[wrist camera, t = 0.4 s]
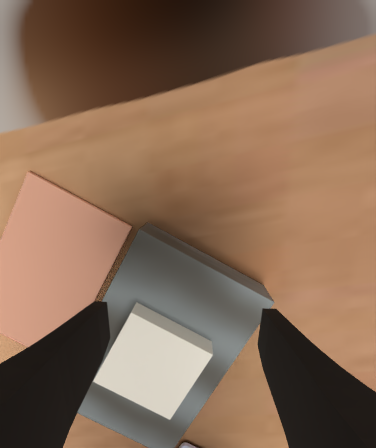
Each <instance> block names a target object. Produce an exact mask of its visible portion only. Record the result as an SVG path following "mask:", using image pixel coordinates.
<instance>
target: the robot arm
mask: <svg viewBox="0 0 376 448" xmlns="http://www.w3.org/2000/svg"><path fill="white" fill-rule="evenodd" d="M109 341H110V327H109V317H108V306H107V302H97V301H94V302H93V303H91V304H90V305H88V306H87V307H85V308H84V309H83V310H81V311H80V312H79V313H77V314H76V315H75V316H73V317H72V318H70V319H69V320H68V321H66V322H65V323H63V324H62V325H61V326H59V327H58V328H56V329H55V330H54V331H52V332H51V333H49V334H48V335H46V336H45V337H43V338H42V339H40V340H39V341H37V342H36V343H34V344H33V345H31V346H29V347H28V348H26V349H25V350H23V351H21V352H20V353H18V354H16V355H15V356H13V357H11V358H9V359H8V360H6V361H4V362H2V363H1V364H0V448H63V445H64V443H65V440H66V438H67V435H68V433H69V430H70V428H71V425H72V423H73V421H74V419H75V416H76V414H77V412H78V410H79V408H80V406H81V404H82V402H83V400H84V398H85V396H86V394H87V392H88V390H89V388H90V386H91V384H92V381H93V379H94V377H95V375H96V373H97V371H98V369H99V367H100V365H101V363H102V361H103V358H104V355H105V352H106V350H107V347H108V344H109ZM258 349H259V353H260V358H261V362H262V367H263V370H264V373H265V376H266V379H267V382H268V385H269V388H270V391H271V394H272V397H273V399H274V402H275V405H276V408H277V411H278V414H279V417H280V420H281V423H282V426H283V429H284V432H285V435H286V438H287V442H288V446H289V448H376V392H375V391H373V390H372V389H370V388H369V387H367V386H366V385H365V384H363V383H362V382H360V381H359V380H358V379H356V378H355V377H354V376H352V375H351V374H350V373H348V372H347V371H346V370H344V369H343V368H342V367H340V366H339V365H338V364H337V363H335V362H334V361H333V360H332V359H331V358H329V357H328V356H327V355H326V354H325V353H323V352H322V351H321V350H320V349H319V348H318V347H316V346H315V345H314V344H313V343H312V342H311V341H310V340H309V339H307V338H306V337H305V336H304V335H303V334H302V333H301V332H300V331H299V330H298V329H297V328H296V327H295V326H294V325H292V324H291V323H290V322H289V321H288V320H287V319H286V318H285V317H284V316H283V315H282V314H281V313H280V312H279V311H278V310H277V309H265V308H262V316H261V323H260V331H259V338H258ZM179 448H197V447H195V446H193V445H191V444H189V443H186V442H184V443H182V444H181V445H180V447H179Z"/></svg>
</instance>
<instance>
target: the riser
mask: <svg viewBox="0 0 376 448" xmlns="http://www.w3.org/2000/svg"><path fill="white" fill-rule="evenodd" d="M102 302H107V306H108V317H109V327H110V341H109V344H108V347H107V350H106V352H105V355H104V358H103V361H102V363H101V365H102V364H103V362H104V360H105V358H106V356H107V355H108V353H109V351H110V349H111V347H112V346H113V344H114V342H115V340H116V338H117V336H118V335H119V333H120V331H121V329H122V327H123V326H124V324H125V322H126V320H127V318H128V317H129V315H130V313H131V311H132V309H133V308H134V306H135V304H136V302H137V303H139V304H141V305H143V306H145V307H147V308H149V309H151V310H153V311H154V312H156V313H158V314H160V315H162V316H164V317H166V318H168V319H170V320H172V321H174V322H176V323H177V324H179V325H181V326H183V327H185V328H187V329H189V330H191V331H193V332H195V333H197V334H199V335H200V336H202V337H204V338H206V339H208V340H210V341H212V349H213V356H212V357H211V359H210V360H209V362H208V363H207V365H206V366H205V368H204V369H203V371H202V372H201V374H200V375H199V377H198V378H197V380H196V381H195V383H194V384H193V386H192V387H191V389H190V390H189V392H188V393H187V395H186V396H185V398H184V400H183V401H182V403H181V404H180V406H179V407H178V409H177V410H176V412H175V413H174V415H173V416H172V418H171V419H170V420H169V419H167V418H165V417H163V416H161V415H159V414H157V413H155V412H153V411H151V410H149V409H147V408H145V407H143V406H141V405H139V404H137V403H135V402H133V401H131V400H129V399H127V398H125V397H123V396H121V395H119V394H117V393H115V392H113V391H111V390H109V389H107V388H105V387H103V386H101V385H99V384H97V383H95V382H93V381H94V379H95V377H96V375H97V373H98V371H99V369H100V367H101V365H100V367H99V369H98V371H97V373H96V375H95V377H94V379H93V381H92V384H91V386H90V388H89V390H88V392H87V394H86V396H85V398H84V400H83V402H82V404H81V406H80V408H79V410H78V412H77V413H79V414H81V415H83V416H85V417H87V418H89V419H91V420H93V421H95V422H97V423H99V424H101V425H103V426H105V427H107V428H109V429H111V430H113V431H115V432H118V433H120V434H122V435H124V436H126V437H128V438H130V439H132V440H134V441H136V442H138V443H140V444H142V445H144V446H146V447H148V448H175V446H176V445H177V443H178V442H179V440H180V439H181V437H182V436H183V434H184V433H185V432H186V430H187V429H188V427H189V426H190V424H191V423H192V421H193V420H194V418H195V417H196V416H197V414H198V413H199V411H200V410H201V408H202V407H203V405H204V404H205V402H206V401H207V400H208V398H209V397H210V395H211V394H212V392H213V391H214V389H215V388H216V386H217V385H218V384H219V382H220V381H221V379H222V378H223V376H224V375H225V373H226V372H227V370H228V369H229V368H230V366H231V365H232V363H233V362H234V360H235V359H236V357H237V356H238V354H239V353H240V352H241V350H242V349H243V347H244V346H245V344H246V343H247V341H248V340H249V338H250V337H251V336H252V334H253V333H254V331H255V330H256V328H257V327H258V325H259V324H260V322H261V316H262V308H265V309H270V308H271V306H272V305H273V304H274V301H273V299H272V298H271V296H270V295H269V293H268V291H267V290H266V288H265V287H264V285H262V284H260V283H258V282H257V281H255V280H253V279H251V278H249V277H247V276H246V275H244V274H242V273H240V272H238V271H236V270H234V269H233V268H231V267H229V266H227V265H225V264H223V263H222V262H220V261H218V260H216V259H214V258H212V257H211V256H209V255H207V254H205V253H203V252H201V251H199V250H198V249H196V248H194V247H192V246H190V245H188V244H187V243H185V242H183V241H181V240H179V239H177V238H176V237H174V236H172V235H170V234H168V233H166V232H165V231H163V230H161V229H159V228H157V227H155V226H153V225H152V224H150V223H146V224H145V225H144V226H143V227H141V228H140V229H139V231H138V233H137V234H136V236H135V238H134V240H133V242H132V244H131V246H130V248H129V250H128V252H127V254H126V256H125V258H124V260H123V261H122V263H121V265H120V267H119V269H118V271H117V273H116V275H115V277H114V279H113V281H112V283H111V285H110V287H109V288H108V290H107V292H106V294H105V296H104V298H103V300H102Z"/></svg>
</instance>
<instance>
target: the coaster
mask: <svg viewBox="0 0 376 448" xmlns="http://www.w3.org/2000/svg"><path fill="white" fill-rule="evenodd" d="M212 356H213V349H212V341H210V340H208V339H206V338H204V337H202V336H200V335H199V334H197V333H195V332H193V331H191V330H189V329H187V328H185V327H183V326H181V325H179V324H177V323H176V322H174V321H172V320H170V319H168V318H166V317H164V316H162V315H160V314H158V313H156V312H154V311H153V310H151V309H149V308H147V307H145V306H143V305H141V304H139V303H137V302H136V304H135V306H134V308H133V309H132V311H131V313H130V315H129V317H128V318H127V320H126V322H125V324H124V326H123V327H122V329H121V331H120V333H119V335H118V336H117V338H116V340H115V342H114V344H113V346H112V347H111V349H110V351H109V353H108V355H107V356H106V358H105V360H104V362H103V364H102V365H101V367H100V369H99V371H98V373H97V375H96V377H95V379H94V381H93V382H95V383H97V384H99V385H101V386H103V387H105V388H107V389H109V390H111V391H113V392H115V393H117V394H119V395H121V396H123V397H125V398H127V399H129V400H131V401H133V402H135V403H137V404H139V405H141V406H143V407H145V408H147V409H149V410H151V411H153V412H155V413H157V414H159V415H161V416H163V417H165V418H167V419H169V420H170V419H171V418H172V416H173V415H174V413H175V412H176V410H177V409H178V407H179V406H180V404H181V403H182V401H183V400H184V398H185V396H186V395H187V393H188V392H189V390H190V389H191V387H192V386H193V384H194V383H195V381H196V380H197V378H198V377H199V375H200V374H201V372H202V371H203V369H204V368H205V366H206V365H207V363H208V362H209V360H210V359H211V357H212Z"/></svg>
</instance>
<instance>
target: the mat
mask: <svg viewBox="0 0 376 448" xmlns="http://www.w3.org/2000/svg"><path fill="white" fill-rule="evenodd" d="M132 227H133V226H131V225H129V224H127V223H125V222H123V221H121V220H120V219H118V218H116V217H114V216H112V215H110V214H109V213H107V212H105V211H103V210H101V209H99V208H97V207H96V206H94V205H92V204H90V203H88V202H86V201H84V200H83V199H81V198H79V197H77V196H75V195H73V194H71V193H70V192H68V191H66V190H64V189H62V188H60V187H59V186H57V185H55V184H53V183H51V182H49V181H47V180H46V179H44V178H42V177H40V176H38V175H36V174H34V173H33V172H29V171H28V172H27V174H26V177H25V180H24V182H23V185H22V187H21V190H20V192H19V195H18V197H17V200H16V202H15V205H14V207H13V210H12V212H11V215H10V217H9V220H8V222H7V225H6V228H5V230H4V233H3V235H2V238H1V240H0V334H2V335H4V336H6V337H8V338H10V339H12V340H14V341H16V342H18V343H20V344H22V345H24V346H26V347H29V346H31V345H33V344H34V343H36V342H37V341H39V340H40V339H42V338H43V337H45V336H46V335H48V334H49V333H51V332H52V331H54V330H55V329H56V328H58V327H59V326H61V325H62V324H63V323H65V322H66V321H68V320H69V319H70V318H72V317H73V316H75V315H76V314H77V313H79V312H80V311H81V310H83V309H84V308H85V307H87V306H88V305H90V304H91V303H93V302H94V301H95V300H96V298H97V296H98V294H99V292H100V290H101V288H102V286H103V284H104V282H105V280H106V278H107V276H108V274H109V272H110V270H111V268H112V266H113V264H114V262H115V260H116V258H117V256H118V255H119V253H120V251H121V249H122V247H123V245H124V243H125V241H126V239H127V237H128V235H129V233H130V231H131V229H132Z"/></svg>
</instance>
